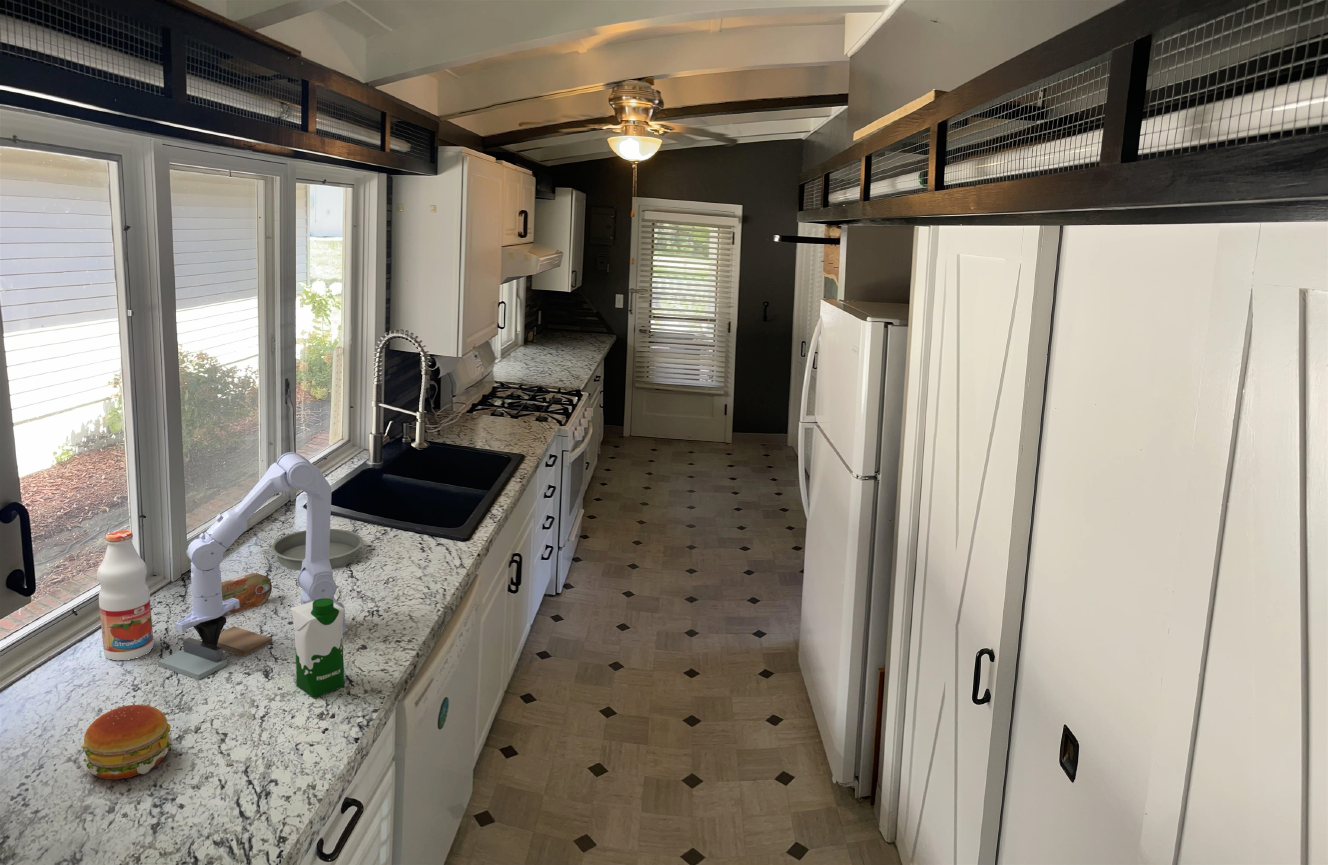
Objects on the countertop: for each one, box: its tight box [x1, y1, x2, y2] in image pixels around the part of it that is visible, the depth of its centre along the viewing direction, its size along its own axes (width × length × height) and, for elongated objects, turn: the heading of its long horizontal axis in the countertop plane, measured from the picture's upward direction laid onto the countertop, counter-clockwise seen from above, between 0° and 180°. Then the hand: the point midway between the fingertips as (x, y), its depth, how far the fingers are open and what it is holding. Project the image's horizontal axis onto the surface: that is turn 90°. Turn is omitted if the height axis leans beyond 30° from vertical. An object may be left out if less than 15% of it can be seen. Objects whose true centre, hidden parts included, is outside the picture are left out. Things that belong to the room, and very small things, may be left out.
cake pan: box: [271, 528, 364, 572], centre depth 246 cm, size 25×25×4 cm
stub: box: [157, 637, 228, 681], centre depth 184 cm, size 12×7×4 cm, turn 68°
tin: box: [221, 572, 273, 617], centre depth 211 cm, size 15×3×8 cm, turn 143°
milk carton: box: [290, 598, 345, 699], centre depth 178 cm, size 9×9×20 cm
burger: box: [81, 704, 173, 780], centre depth 151 cm, size 13×14×10 cm
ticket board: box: [217, 626, 273, 658], centre depth 195 cm, size 12×8×1 cm, turn 68°
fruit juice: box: [96, 529, 154, 660], centre depth 185 cm, size 9×9×28 cm
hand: (210, 649), depth 188 cm, fingers closed
